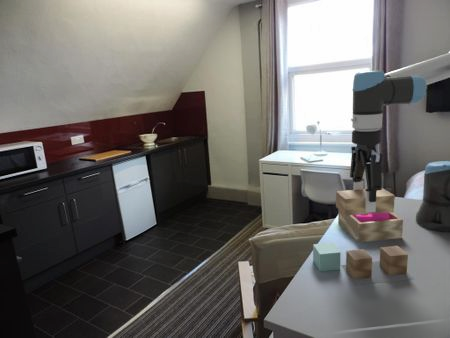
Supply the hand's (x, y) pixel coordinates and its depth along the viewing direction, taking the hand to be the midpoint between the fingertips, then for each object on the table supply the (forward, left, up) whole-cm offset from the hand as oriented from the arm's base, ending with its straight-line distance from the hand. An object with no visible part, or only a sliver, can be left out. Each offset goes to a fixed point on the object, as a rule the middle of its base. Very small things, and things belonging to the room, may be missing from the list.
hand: (363, 206), depth 95 cm
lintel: (0, 0, -1) cm, 1 cm away
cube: (+12, +2, -17) cm, 21 cm away
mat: (0, +8, -17) cm, 19 cm away
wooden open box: (-11, -18, -17) cm, 27 cm away
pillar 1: (+5, +8, -17) cm, 19 cm away
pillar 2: (-5, +8, -17) cm, 19 cm away
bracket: (-11, -18, -17) cm, 27 cm away
